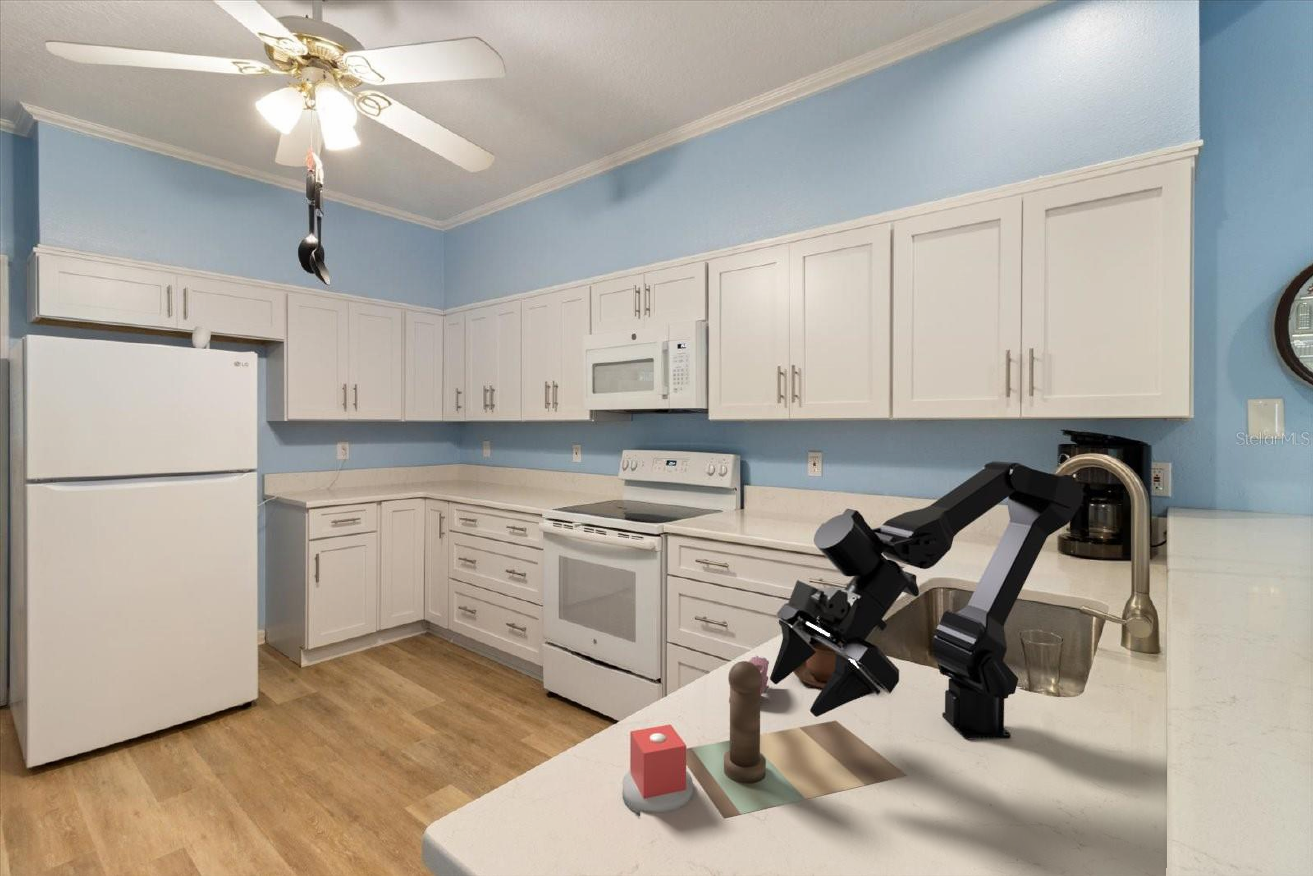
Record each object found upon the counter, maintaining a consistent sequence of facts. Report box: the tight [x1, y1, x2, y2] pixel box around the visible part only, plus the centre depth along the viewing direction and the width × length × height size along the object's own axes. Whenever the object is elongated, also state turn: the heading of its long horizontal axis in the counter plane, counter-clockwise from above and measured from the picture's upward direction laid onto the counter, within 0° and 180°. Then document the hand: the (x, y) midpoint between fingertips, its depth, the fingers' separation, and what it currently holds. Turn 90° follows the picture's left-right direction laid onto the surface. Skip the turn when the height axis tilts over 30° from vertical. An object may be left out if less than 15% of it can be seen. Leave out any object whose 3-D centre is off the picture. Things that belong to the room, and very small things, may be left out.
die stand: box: [622, 724, 694, 815], centre depth 69 cm, size 8×8×7 cm
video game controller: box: [728, 654, 770, 704], centre depth 94 cm, size 10×5×7 cm, turn 169°
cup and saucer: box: [792, 638, 847, 689], centre depth 100 cm, size 12×12×6 cm
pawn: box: [724, 660, 766, 784], centre depth 72 cm, size 5×5×13 cm
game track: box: [686, 720, 908, 819], centre depth 75 cm, size 24×14×1 cm, turn 109°
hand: (791, 697), depth 74 cm, fingers open, 9 cm apart
